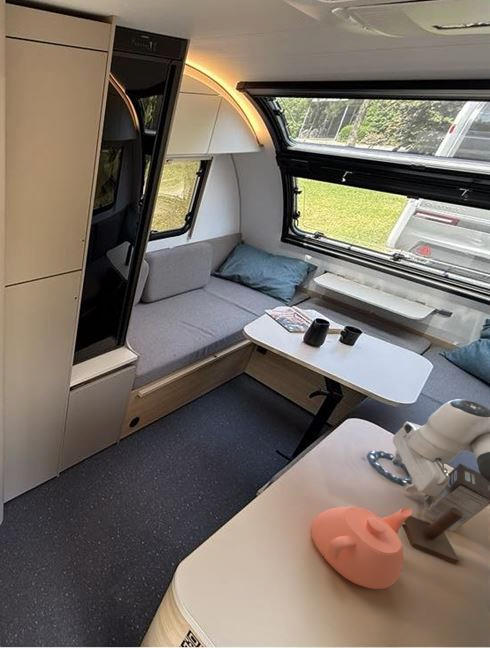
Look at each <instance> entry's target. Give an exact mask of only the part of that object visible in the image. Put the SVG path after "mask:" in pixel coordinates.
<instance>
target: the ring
mask: <svg viewBox="0 0 490 648" xmlns="http://www.w3.org/2000/svg"><path fill="white" fill-rule="evenodd" d="M394 455H395V454H393V453H389V452H387V451H384V450H370V451H369V452H368V453H367V455H366V459H367V461H368V463H369V465H370V466H371V467H372V468H373V469H374V470H375V472H377V473H378V474H379V475H380V476H382V477H384V478H385V479H387V480H389V481H390V482H391V483H394V484H396V485H400V486H402V487H404V485H405V484H406V483H409V484H412V481H413V480H412V478H411V476H410V474H409V472H408V470H407V468H406V466H405V464H404V463H403V461H402V463H403V464H402V465H401V466H400V468H401V469H402V470H404V472H405V474H406V476H407V478H401V477H400V476H396V475H394V474H392V473H391V472H389V471H387V470H386V469H385V468H384V467H383V466H382V465H381V464H380V463H379V461H378V459H380V458H381V459H386V460H389V461H391V460H392V459H393V458H394Z"/></svg>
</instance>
